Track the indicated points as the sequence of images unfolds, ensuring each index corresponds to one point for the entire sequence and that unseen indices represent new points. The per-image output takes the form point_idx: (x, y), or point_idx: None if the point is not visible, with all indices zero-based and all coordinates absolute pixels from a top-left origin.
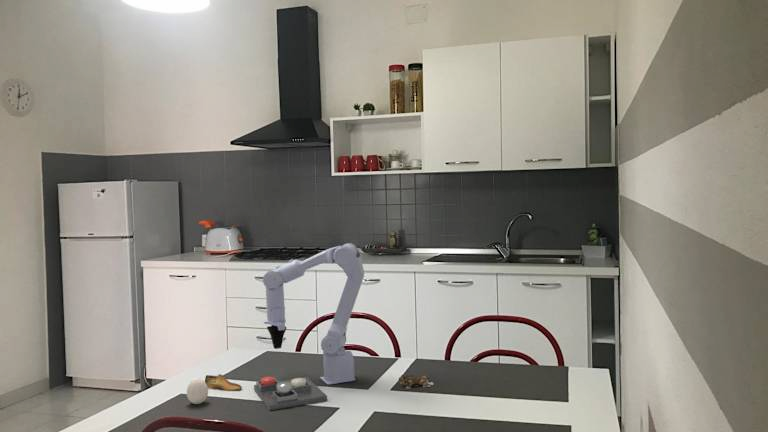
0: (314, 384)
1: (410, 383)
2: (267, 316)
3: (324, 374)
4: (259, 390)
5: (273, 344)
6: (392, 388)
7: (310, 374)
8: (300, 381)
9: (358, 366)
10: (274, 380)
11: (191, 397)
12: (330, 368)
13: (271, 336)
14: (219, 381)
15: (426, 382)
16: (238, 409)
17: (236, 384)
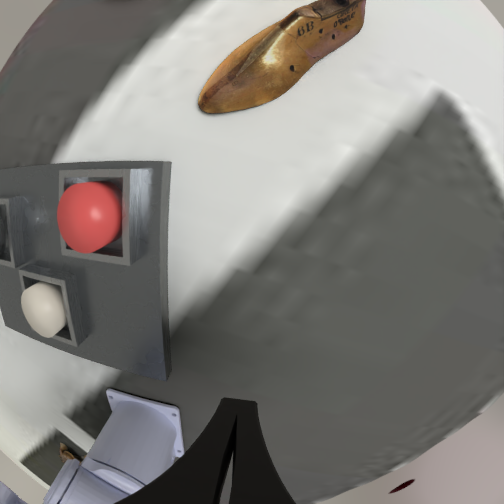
0: (79, 355)
1: (60, 452)
2: None
3: (133, 414)
4: (84, 167)
5: (226, 418)
6: (64, 435)
7: None
8: (26, 311)
9: None
10: (70, 242)
11: None
12: (101, 431)
13: (234, 474)
14: (279, 21)
15: None
16: (32, 86)
17: (224, 88)
